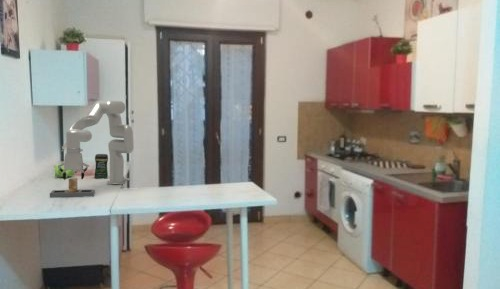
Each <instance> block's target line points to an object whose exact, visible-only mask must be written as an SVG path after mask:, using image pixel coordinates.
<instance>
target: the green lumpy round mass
mask: <svg viewBox="0 0 500 289" xmlns="http://www.w3.org/2000/svg"><path fill="white" fill-rule="evenodd" d="M58 165H59V164H57V165H53V168H54V177H57V179H61V178H63V173H62V172H61V171H60V170H59V168H58ZM61 168H62V169H63V170H64V165H63V166H61ZM65 172H66V179H68V178H72V176H75V173H74V170H66V171H65Z"/></svg>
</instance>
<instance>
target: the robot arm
mask: <svg viewBox="0 0 500 289" xmlns="http://www.w3.org/2000/svg"><path fill="white" fill-rule="evenodd" d="M125 111H126V104H125V102H123V101H122V100H96V101H95V102H94V103H93V105H92V106H91V107H90V108H89V110H88V112H87V113H86V115H85V116H82V117H81V118H79V119H78V120H76V121H75V122H74V123H72V125H71V127H70V128H69V130H67V131H66V133H65V134H66V135H65V137H66V140H65V143H66V153H65V155H64V161H63V162H62V163H60V164H57V165H58V168H59V170H60V171H61V172H62V173H63V177H62V179H63V180H64V181H65V180H66V179H67V178H66V172H65V171H66V170H76V171H80V172H81V173H80V176H81V177H80V179H81V180H84V178H85V172H87V170H88V168H89V167H90V165H89V164H87V163H85V162H84V160H83V154H82V152H84V150H83V149H82V148H81V143H88V142H90V141H91V140H92V137H93V134H92V132H91V131H90V130H88V129H86V128H88V127H93V126H95V125H97V124H98V123H99V122H100V120H101V119H102V118H103V116H104V114H106V117H107V118H108V125H109V129H108V130H109V134H110V137H112V138H114V139H111V140H109V142H108V145H107V146H108V152H109V180H108V181H107V182H106V183H108V185H111V184H120V185H125V184H126V183H127V182H130V181H131V178H130V177H125V176H124V171H125V170H124V165H125V164H124V163H125V159H124V156H123V154H131V153H132V152H133V151H134V131H133V128H132V126H131V125H129V124H123V122H122V121H123V120H122V116H121V114H123V113H124V112H125ZM63 165H64V170H63V169H62V168H61V166H63ZM83 167H85V168H83Z"/></svg>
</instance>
